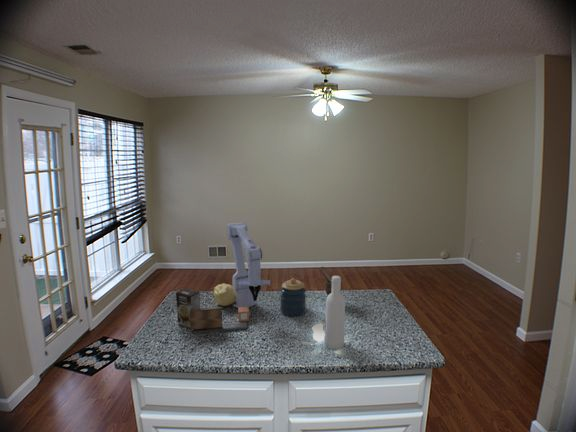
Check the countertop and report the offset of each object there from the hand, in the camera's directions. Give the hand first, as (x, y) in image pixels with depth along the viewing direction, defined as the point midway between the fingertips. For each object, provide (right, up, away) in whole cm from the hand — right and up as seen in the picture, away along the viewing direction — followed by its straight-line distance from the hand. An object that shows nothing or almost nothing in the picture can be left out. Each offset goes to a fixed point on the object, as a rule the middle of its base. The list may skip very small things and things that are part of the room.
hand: (255, 300), depth 160 cm
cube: (-6, -10, +4) cm, 12 cm away
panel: (-21, -11, -7) cm, 25 cm away
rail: (-15, -12, -6) cm, 20 cm away
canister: (+18, -9, +11) cm, 23 cm away
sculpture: (-18, -7, +20) cm, 28 cm away
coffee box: (-31, -11, -1) cm, 33 cm away
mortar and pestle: (+38, -7, +19) cm, 43 cm away
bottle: (+35, -14, -18) cm, 42 cm away
